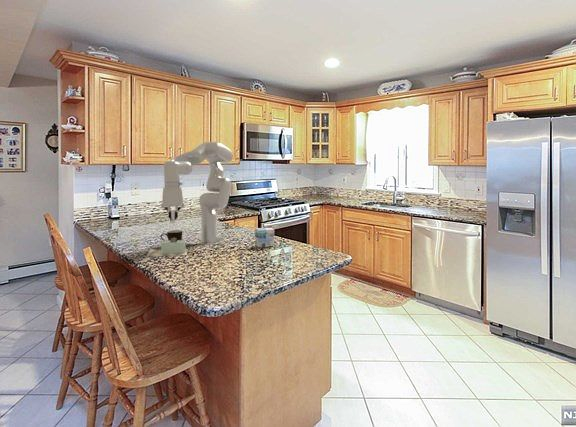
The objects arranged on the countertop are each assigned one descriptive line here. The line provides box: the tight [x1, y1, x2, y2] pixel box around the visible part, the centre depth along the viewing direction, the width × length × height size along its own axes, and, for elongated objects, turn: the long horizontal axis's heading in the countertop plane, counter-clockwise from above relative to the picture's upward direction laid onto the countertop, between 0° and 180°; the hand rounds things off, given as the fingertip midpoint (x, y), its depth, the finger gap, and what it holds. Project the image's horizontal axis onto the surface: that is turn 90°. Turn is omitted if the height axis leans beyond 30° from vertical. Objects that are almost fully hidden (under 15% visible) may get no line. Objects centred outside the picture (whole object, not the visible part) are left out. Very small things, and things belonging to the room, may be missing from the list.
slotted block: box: [160, 239, 187, 254], centre depth 192 cm, size 12×6×6 cm, turn 103°
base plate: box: [146, 248, 188, 257], centre depth 192 cm, size 20×14×2 cm
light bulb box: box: [254, 227, 275, 248], centre depth 218 cm, size 11×7×11 cm, turn 112°
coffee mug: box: [160, 229, 183, 242], centre depth 209 cm, size 12×9×10 cm
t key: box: [169, 209, 178, 224], centre depth 190 cm, size 2×10×6 cm, turn 12°
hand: (173, 219), depth 191 cm, fingers closed on t key, 2 cm apart
